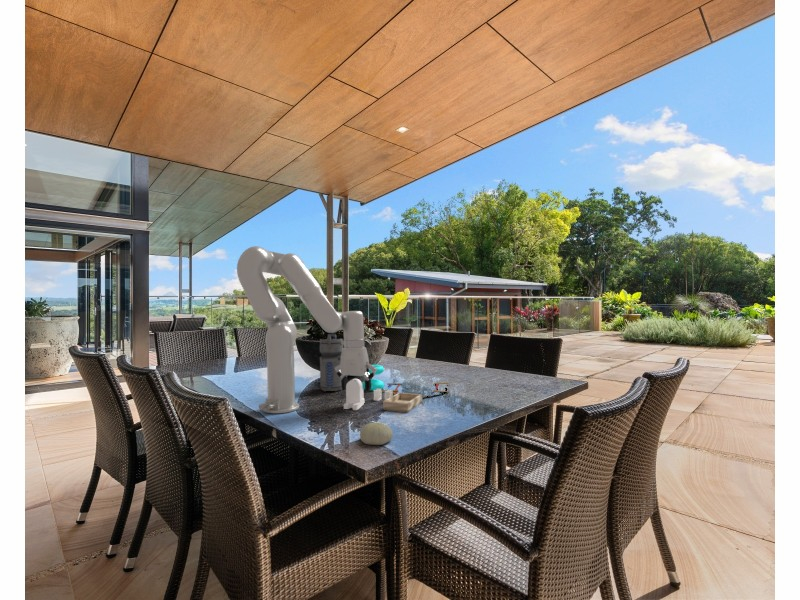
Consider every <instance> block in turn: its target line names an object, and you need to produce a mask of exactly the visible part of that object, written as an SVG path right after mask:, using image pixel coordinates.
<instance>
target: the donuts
mask: <svg viewBox="0 0 800 600" xmlns="http://www.w3.org/2000/svg"><path fill="white" fill-rule="evenodd" d="M371 365H372V366H374V367H376V368H377V371H376V373H375V375H374V376H378V375H381V374H383V372H384V371H385V368H384V366H383V365H381V364H371ZM371 372H372V370H371V369H369V374H371ZM365 381H366V380H364V381H362V389H364V390H365ZM384 386H385V383H384V381H382V380H380V379H375V378H374V379H373V378H372V379H371V390H370V391H374V390H376V389H383V388H384Z"/></svg>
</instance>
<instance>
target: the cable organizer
mask: <svg viewBox="0 0 800 600" xmlns="http://www.w3.org/2000/svg"><path fill="white" fill-rule="evenodd" d="M362 383H363V381H361V380H360V379H358V378H352V379H350V380H348V383H347V385H346V390H345V398H346V399H345V402H344V403H343V410H344V409H348V410H349V409H352V410H353V411H357V410H359V409H361V407H362V406H364V405H365V404H364V403H366V402H365V398H363V390H362V389H363V388H362Z"/></svg>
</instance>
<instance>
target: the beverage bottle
mask: <svg viewBox="0 0 800 600" xmlns="http://www.w3.org/2000/svg"><path fill="white" fill-rule="evenodd" d="M342 341H344V339H343V338H337V334H336V333H328V334H327V338H326V339H322V338H320V339H319V352H320V354H321V356H319V383H320V384H319V387H320V390H321V391H323V392H326V391H335V392H339V391H343V390H342V383H341V379H340V377H339V376H338V375H337V372H336V370H335V367H336V366H338V365H340V364H341V353H342V348H344V345H342V344H341V342H342ZM340 371H341V368H340Z"/></svg>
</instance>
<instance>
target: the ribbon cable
mask: <svg viewBox="0 0 800 600" xmlns="http://www.w3.org/2000/svg"><path fill="white" fill-rule="evenodd" d="M395 384H396V385H398V386H396V387H395V389H392V390H393V396H394V395H396V393H399V389H398V388H399V387H400V386H402V385H403V382H402V383H401V382H400V383H399V382H398V383H396V382H393V383H392V382H391V383H387V384H386V385H387V389H386V390H382V392H383V393H385V391H387V390H390V388H391V387H393V385H395ZM434 384H436V385H435V386H436V390H433V391H432V393H433V392H441V393H443V392H447V393H449V392H450V393H451V391H450V390H448V391H438V390H437V389H438V386H439V384H449V385H450V383H449V382H434V383H433V385H434ZM441 393H439V396H441ZM447 393H446V394H447ZM450 393H449V394H450ZM434 395H435V396H434ZM425 396H426V395H425ZM436 396H437V397H438V394H437V395H436V394H433V396H428V397H427V396H426V397H422V399H425V398H431V397H436Z"/></svg>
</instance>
